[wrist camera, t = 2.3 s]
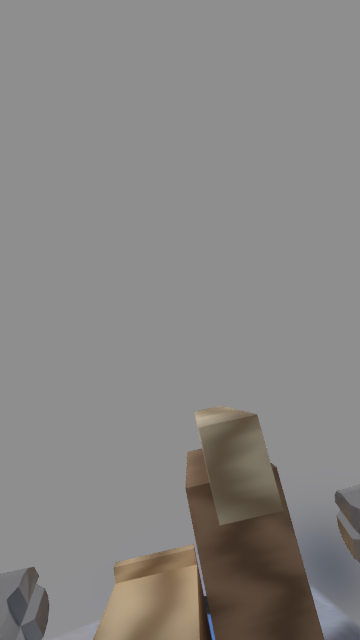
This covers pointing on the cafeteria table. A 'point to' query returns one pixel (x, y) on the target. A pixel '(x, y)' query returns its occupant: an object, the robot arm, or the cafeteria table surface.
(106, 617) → the oak stand
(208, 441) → the maple batten
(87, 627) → the cafeteria table surface
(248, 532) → the walnut block
